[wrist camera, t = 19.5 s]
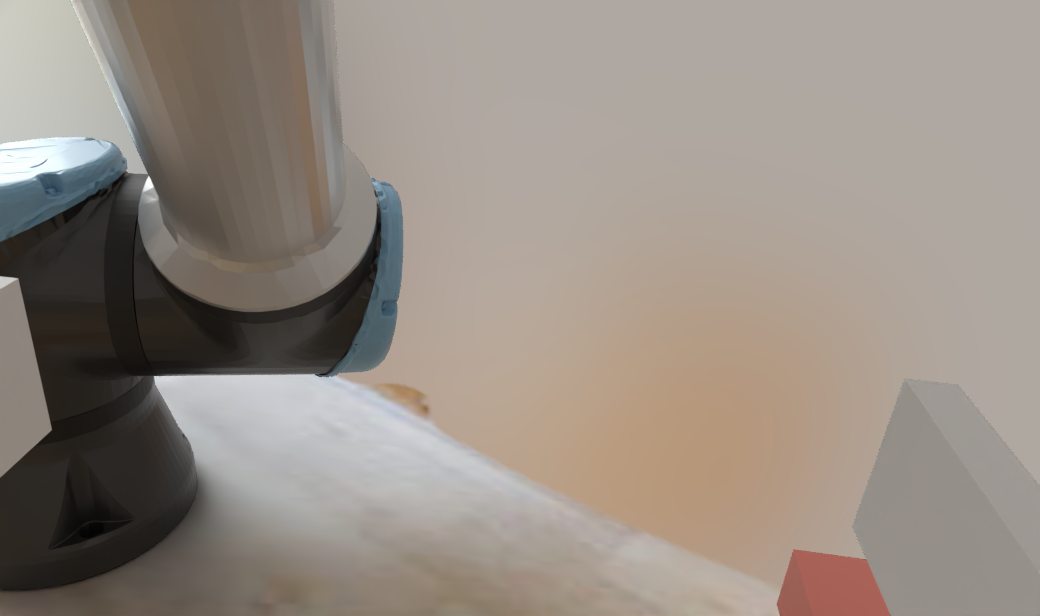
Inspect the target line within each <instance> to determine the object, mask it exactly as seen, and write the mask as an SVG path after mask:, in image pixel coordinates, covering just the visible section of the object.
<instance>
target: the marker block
mask: <svg viewBox="0 0 1040 616" xmlns="http://www.w3.org/2000/svg"><path fill="white" fill-rule="evenodd" d="M777 606H778V610H779V614H780V616H891V615H890V613H889V610H888V608H887V606H886V603H885V601H884V599H883V596H882V594H881V592H880V590H879V587H878V585H877V583H876V580H875V578H874V576H873V573H872V571H871V569H870V567H869V564H868V562H867V560H866V559H859V558H851V557H844V556H837V555H830V554H823V553H815V552H808V551H801V550H793V553H792V556H791V559H790V563H789V566H788V569H787V572H786V576H785V579H784V582H783V585H782V589H781V592H780V595H779V598H778V602H777Z"/></svg>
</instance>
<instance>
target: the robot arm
mask: <svg viewBox="0 0 1040 616" xmlns="http://www.w3.org/2000/svg"><path fill="white" fill-rule="evenodd" d="M70 2H71V4H72V6H73V9H74V11H75V13H76V15H77V17H78V20H79V22H80V24H81V26H82V29H83V31H84V33H85V35H86V37H87V40H88V42H89V44H90V46H91V48H92V51H93V53H94V55H95V57H96V59H97V62H98V64H99V66H100V68H101V71H102V73H103V75H104V77H105V80H106V82H107V84H108V86H109V88H110V90H111V93H112V95H113V97H114V100H115V102H116V104H117V106H118V108H119V111H120V113H121V115H122V117H123V119H124V122H125V124H126V126H127V128H128V130H129V133H130V135H131V137H132V139H133V142H134V144H135V146H136V148H137V151H138V153H139V155H140V157H141V159H142V161H143V164H144V166H145V168H146V170H147V172H148V174H132V173H128V172H127V171H126V169H127V160H126V159H125V158H124V157H123V156H122V153H121V151H120V149H119V148H118V147H117V146H116V145H114V144H113V143H111V142H109V141H106V140H95V139H93V138H88V137H58V138H44V139H34V140H25V141H18V142H11V143H4V144H0V589H5V590H24V589H37V588H45V587H52V586H57V585H62V584H67V583H71V582H75V581H79V580H82V579H86V578H89V577H92V576H95V575H98V574H100V573H103V572H105V571H108V570H110V569H113V568H115V567H117V566H119V565H121V564H124V563H126V562H128V561H130V560H131V559H133V558H135V557H137V556H139V555H140V554H142V553H143V552H145V551H147V550H148V549H150V548H151V547H153V546H154V545H155V544H157V543H158V542H159V541H161V540H162V539H163V538H164V537H165V536H167V535H168V534H169V533H170V532H171V531H172V530H173V529H174V528H175V527H176V526H177V525H178V524H179V523H180V521H181V520H182V519H183V518H184V516H185V515H186V513H187V512H188V510H189V508H190V507H191V505H192V502H193V500H194V497H195V494H196V489H197V477H196V469H195V461H194V455H193V451H192V448H191V445H190V443H189V441H188V439H187V438H186V436H185V435H184V433H183V432H182V431H181V429H180V428H179V427H178V425H177V423H176V421H175V419H174V417H173V415H172V414H171V412H170V410H169V408H168V406H167V404H166V403H165V401H164V399H163V397H162V396H161V394H160V392H159V390H158V389H157V387H156V385H155V381H154V376H186V375H287V374H315V375H316V376H319V377H329V376H331V377H332V376H335V375H337V374H339V373H349V372H350V373H351V372H364V371H369V370H371V369H374V368H375V367H377V366H378V365H379V364H380V363H381V362H382V361H383V360H384V359H385V357H386V355H387V353H388V351H389V349H390V346H391V343H392V338H393V335H394V331H395V325H396V319H397V303H396V302H397V300H398V298H399V292H400V287H401V278H402V277H401V276H402V262H403V216H402V208H401V201H400V198H399V195H398V192H397V191H396V190H395V189H394V188H393V187H392V185H390V184H388V183H385V182H380V181H376V180H375V179H373V178H370V176H369V174H368V172H367V171H366V169H365V167H364V165H363V163H362V162H361V161H360V160H359V158H358V157H357V156H356V155H355V154H354V153H353V152H352V151H351V150H350V149H349V148H348V146H347V145H345V144H344V143H343V134H342V119H341V104H340V89H339V74H338V61H337V60H338V59H337V45H336V30H335V17H334V0H70ZM852 527H853V530H854V532H855V534H856V537H857V539H858V541H859V543H860V546H861V548H862V550H863V553H864V555H865V557H866V560H867V562H868V564H869V567H870V569H871V571H872V573H873V576H874V578H875V580H876V583H877V585H878V587H879V590H880V592H881V594H882V596H883V599H884V601H885V603H886V606H887V608H888V610H889V613H890V615H891V616H1040V486H1039V484H1038V483H1037V482H1036V480H1035V479H1034V478H1033V477H1032V476H1031V474H1030V473H1029V472H1028V471H1027V469H1026V468H1025V467H1024V466H1023V464H1022V463H1021V462H1020V461H1019V460H1018V458H1017V457H1016V456H1015V454H1014V453H1013V452H1012V451H1011V449H1010V448H1009V447H1008V446H1007V445H1006V443H1005V442H1004V441H1003V439H1002V438H1001V437H1000V436H999V434H998V433H997V432H996V431H995V429H994V428H993V427H992V426H991V425H990V423H989V422H988V421H987V420H986V418H985V417H984V416H983V415H982V413H981V412H980V411H979V410H978V409H977V407H976V406H975V405H974V403H973V402H972V401H971V400H970V398H969V397H968V396H967V395H966V394H965V392H964V391H963V390H962V388H961V387H960V386H959V385H955V384H947V383H938V382H929V381H921V380H912V379H904V381H903V384H902V387H901V389H900V392H899V395H898V398H897V401H896V404H895V406H894V409H893V412H892V415H891V418H890V421H889V424H888V426H887V429H886V432H885V435H884V438H883V441H882V443H881V446H880V449H879V452H878V455H877V458H876V461H875V463H874V466H873V469H872V472H871V475H870V478H869V480H868V483H867V486H866V489H865V492H864V494H863V497H862V500H861V503H860V506H859V509H858V511H857V514H856V518H855V520H854V523H853V526H852Z"/></svg>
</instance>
